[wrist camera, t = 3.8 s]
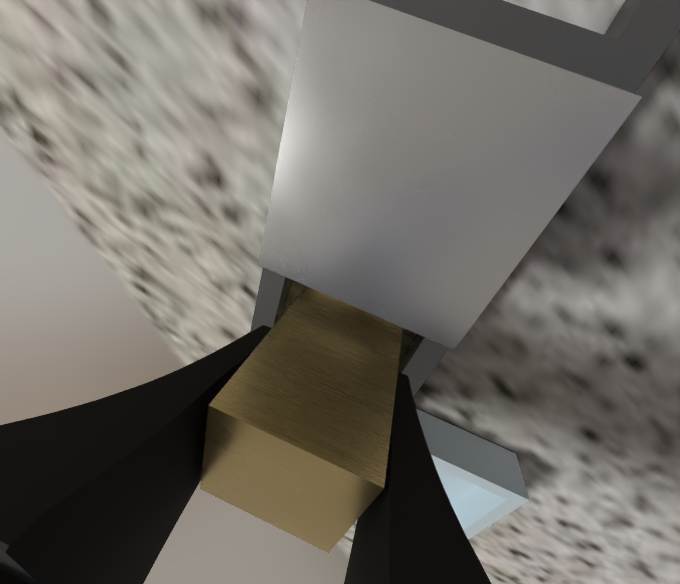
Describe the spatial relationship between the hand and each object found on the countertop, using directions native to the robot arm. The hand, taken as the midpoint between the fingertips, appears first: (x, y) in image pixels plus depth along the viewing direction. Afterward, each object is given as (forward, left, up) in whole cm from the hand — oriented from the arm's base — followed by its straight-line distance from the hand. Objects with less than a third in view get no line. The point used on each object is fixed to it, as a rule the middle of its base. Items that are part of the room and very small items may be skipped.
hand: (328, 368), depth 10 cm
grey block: (0, -7, -3) cm, 8 cm away
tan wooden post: (0, 0, -2) cm, 2 cm away
